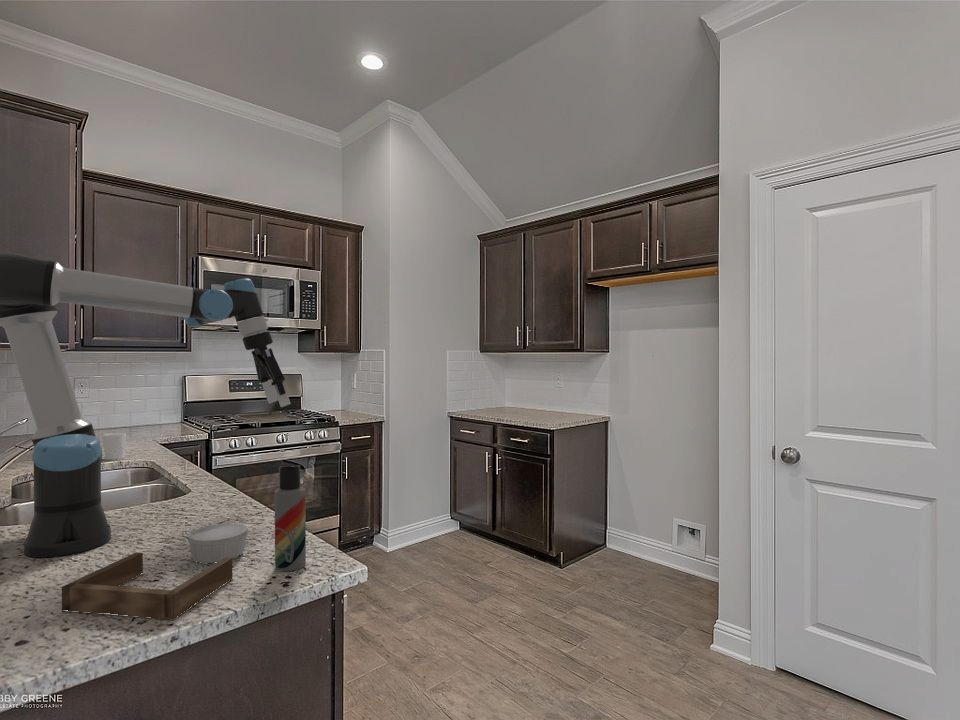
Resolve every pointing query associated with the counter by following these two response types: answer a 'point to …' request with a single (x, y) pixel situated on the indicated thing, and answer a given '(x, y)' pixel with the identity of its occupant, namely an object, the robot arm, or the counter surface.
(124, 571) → the walnut box
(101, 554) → the counter surface
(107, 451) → the white cup
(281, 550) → the lotion bottle
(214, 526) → the ramekin
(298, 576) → the counter surface
